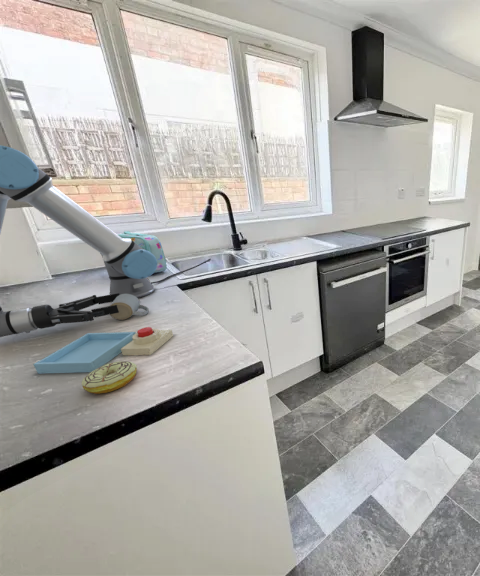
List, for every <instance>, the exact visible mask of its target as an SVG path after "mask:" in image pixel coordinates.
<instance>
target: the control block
mask: <svg viewBox="0 0 480 576" xmlns="http://www.w3.org/2000/svg"><path fill="white" fill-rule="evenodd" d="M152 330H153V334H152V335H149V336H146V337H139V336H138V333H137V332H136V334H134V335H133V337H132V339H133V341H131V342H130V343H128V344H127V345H126V346H124V347H123V348H121V354H122V356H148V355H149V356H150V355H152V354H154V353H155V352H156V351H157V350H158V349H160V348H161V347H162V346H163V345H164V344H165V343H167V342H168V341H169V340H170V339H172V338H173V337H174V333H173V330H172V329H157V328H152Z"/></svg>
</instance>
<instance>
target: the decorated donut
mask: <svg viewBox="0 0 480 576" xmlns="http://www.w3.org/2000/svg"><path fill="white" fill-rule="evenodd" d="M137 369H138V366H137V364H136V363H135V362H132V361H122V360H121V361H120V360H119V361H113V362H108V363H106V364H104V365H103V366H101V367H99V368H97V369H96V370H94V371H92V372H88V374H87V375H86V376H85V377H83V379H82V380H81V386H82V389H83V390H85V391H86V392H87V393H91V394H95V395H101V394H106V393H111V392H113V391H117V390H120V389H122V388H124V387H126V385H128V384H129V383H130V382H131V381H133V380H134V379H135V377H136V375H137Z"/></svg>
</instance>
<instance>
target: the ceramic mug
mask: <svg viewBox="0 0 480 576" xmlns="http://www.w3.org/2000/svg"><path fill="white" fill-rule="evenodd" d="M113 305H117V307H118V310H119V313H114V314H110V315H109V316H110V317H111V318H113V319H114V320H120V321H125V320H127V319H129V318H131V317H132V316H139V317H140V316H147V314H148V313H149V310H150V309H149V307H147V306H146V305H144V304H141V301H140V299H139V298H137V297H135V296H134V295H131V294H121V295H119V296H117V297H116V298H115V300H114V301H113V302H110V304H109V306H113ZM139 309H141V310H144V311H138V310H139Z"/></svg>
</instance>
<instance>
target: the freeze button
mask: <svg viewBox="0 0 480 576" xmlns="http://www.w3.org/2000/svg"><path fill="white" fill-rule="evenodd" d="M152 329H153V327H151V326H146V327H142V328H139V329H137V330H136V331H137V332H136V333H138V336H139V337H146V336H149V335H152V334H153V330H152Z"/></svg>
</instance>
